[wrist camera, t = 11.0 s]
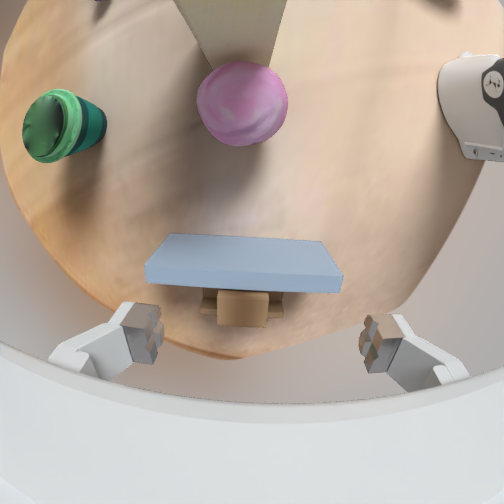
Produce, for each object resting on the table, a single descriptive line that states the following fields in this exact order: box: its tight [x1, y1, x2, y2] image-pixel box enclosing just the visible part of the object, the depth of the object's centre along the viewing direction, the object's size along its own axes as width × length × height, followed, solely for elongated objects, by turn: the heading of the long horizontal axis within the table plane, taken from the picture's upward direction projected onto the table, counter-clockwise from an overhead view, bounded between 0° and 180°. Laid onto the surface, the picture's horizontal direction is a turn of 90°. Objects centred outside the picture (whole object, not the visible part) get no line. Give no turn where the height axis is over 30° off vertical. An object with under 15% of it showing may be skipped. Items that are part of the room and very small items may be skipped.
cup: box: [22, 89, 107, 163], centre depth 24 cm, size 8×8×12 cm
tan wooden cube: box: [217, 288, 269, 328], centre depth 30 cm, size 5×4×7 cm
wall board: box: [144, 233, 343, 318], centre depth 32 cm, size 20×8×10 cm, turn 87°
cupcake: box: [196, 61, 288, 146], centre depth 25 cm, size 9×9×10 cm
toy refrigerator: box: [173, 0, 287, 70], centre depth 16 cm, size 8×7×21 cm
